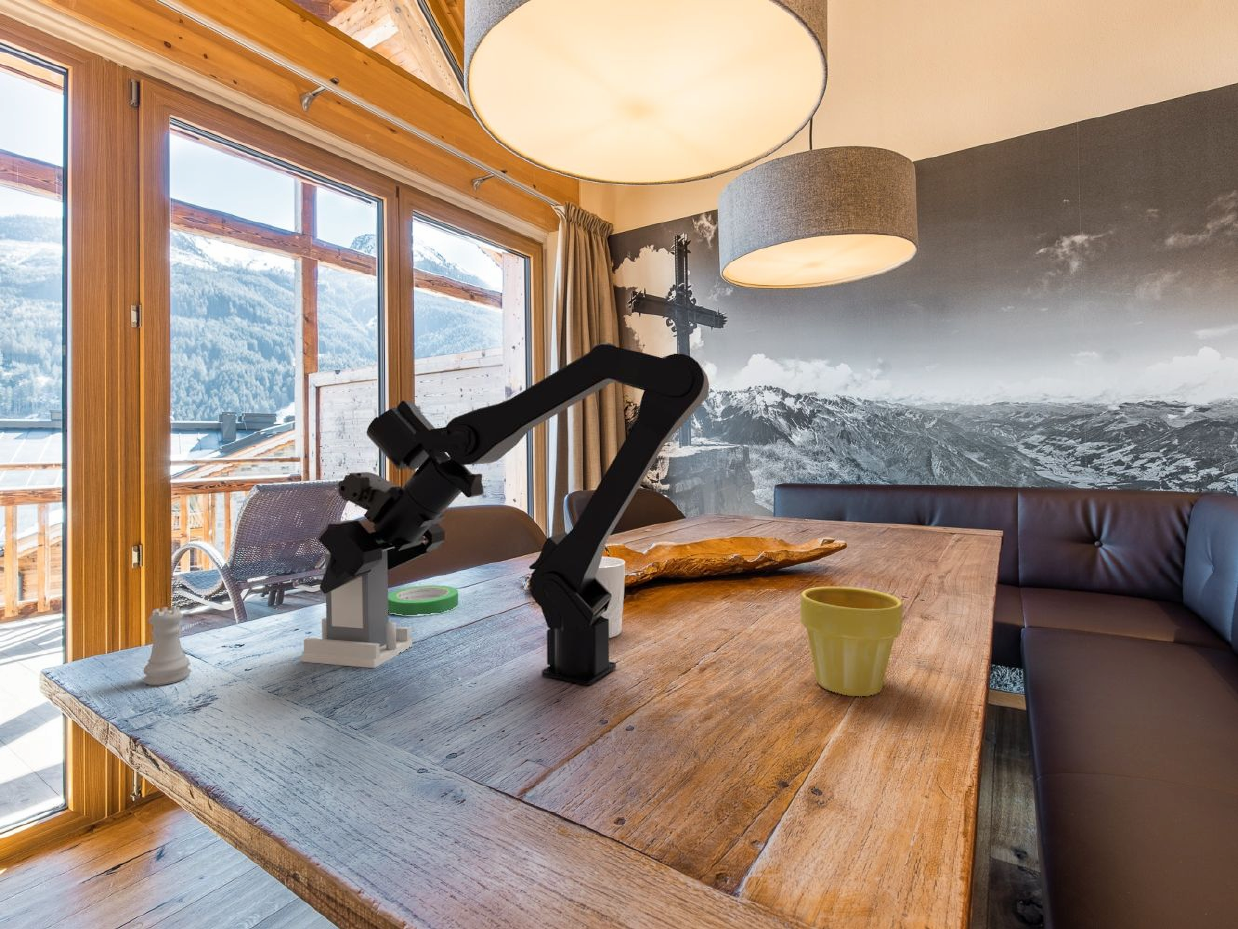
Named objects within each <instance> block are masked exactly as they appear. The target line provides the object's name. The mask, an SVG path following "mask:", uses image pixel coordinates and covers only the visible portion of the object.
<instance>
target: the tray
mask: <svg viewBox="0 0 1238 929" xmlns="http://www.w3.org/2000/svg"><path fill="white" fill-rule="evenodd" d="M411 646H413V638H411V627H408V626H405V627H404V626H397V622H395V621H388V623H386V644H385V645H383V646H382V647H380V644H379V643H366V642H353V641H340V640H328V639H327V628H326V617H323V618H321V638H313V637H311V638H310V637H307V638H304V639H303V652H302V654H301V660H302V661H301V662H303V663H313V664H324V665H325V664H327V665H335V666H348V667H356V668H357V667H358V668H368V669H369V668H371V669H376V668H377V667H379V666H381V665H383V664H384V663H387V662H388V661H389V660H391V659H393V658H394V657H396V656H398V655H400V654H401V653H403V652H405V651H407V650H408V649H410V648H412V647H411ZM409 647H410V648H409ZM406 649H407V650H406ZM400 652H401V653H400ZM399 653H400V654H399Z"/></svg>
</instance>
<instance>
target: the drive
mask: <svg viewBox="0 0 1238 929" xmlns="http://www.w3.org/2000/svg"><path fill="white" fill-rule="evenodd" d="M329 558H330V552H327V553H324V563H325V564H324V566H325V569H324V570H325V571H326V568H327V565H328V562H329ZM370 570H371V572H369V573H367V574H365V575H363V576H361V577H359V578H357V579H355V580H353V581H351V582H349V583H347V584H345V585H343V586H341V587H339V588H337V589H335V590H333V591H331V592H329V593H326V594H325V618H326V628H327V639H328V640H340V641H353V642H366V643H379V644H380V647H382V646H383V645H385V644H386V623H388V622H389V613H388V594H389V584H388V582H389V577H388V574H389V572H388V567H387V550H385V551H382V560H381V561H380V562H379V563H378V564H377V565H376V566H374V567H373V568H372V569H370Z"/></svg>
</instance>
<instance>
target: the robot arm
mask: <svg viewBox="0 0 1238 929" xmlns="http://www.w3.org/2000/svg"><path fill="white" fill-rule="evenodd" d="M709 382H710V381H709V378H708V375H707V373H706V372H705V370H704V368H703V367H702V366H701V365H700V363H699V362H698V361H697V360H696V359H694V357H692V356H690V355H687V354H684V353H673V354H669V355H666V356H663V357H659V356H657V355H652V354H649V353H645V352H641V351H636V350H633V349H632V350H630V349H628V348H627V349H626V348H623V347H618V346H617V345H615V344H613V343H610V342H601V343H599V344H597V345H595V346H594V347H593V348H591V349H590V350H589V352H587V353H585V354H584V355H581V356H580V357H578V358H577V359H575V360H573V361H572V362H570V363H568V364H567V365H565V366H564V367H561V368H560V369H559V370H556V371H555V372H553V373H550V375H548V376H546V377H545V378H543V379H541V380H540V381H538V382H536V383H535V384H533V385H531V386H530V387H528V388H526V389H525V390H522V391H521V392H520V393H518V394H516V395H514V396H512V397H511V398H509V399H507V400H504V401H501V402H499V403H495V404H492V405H488V406H482V407H480V408H477V409H474V410H472V411H469V412H466V413H463V414H461V415H460V414H459V415H458V416H456V417H453V418H452V419H451V420H450V421H449V422H448V423H447V424H446V425H445V426H444V427H443V426H442V427H436V428H435V427H434V425H433V424H431V422H430V420H428V419H427V417H425V415H424V414H422V412H421V411H420V409H419V406H417V405H416V404H415V403H414V402H413V401H409V400H401V401H400V402H399V403H398V405H397V406H394V407H391V408H390V409H388V410H386V411H384V412H383V413H381V414H380V415H379V416H376V417H374V418H373V419H372V421H370V424H369V425H368V427H367V430H366V436H367V437H368V438H369V440H371V442H372V443H373V444H374V445H375V446H376V447H377V448H378V449H379V450H380V451H381V453H382V454H383V456H386V459H388V460H389V461H390V462H391V463H392V465H393V466H394V467H395V468H396V469H398V470H404V469H409V470H410V471H414V470H416V471H414V473H413V474H412V475H411V476H410V477H409V478H408V479H407V481H406V482H404V484H403V485H402V486H400V485H399V486H397V484H395V483H393V482H391V481H389V480H387V479H385V478H384V477H382V476H379V475H378V474H376V473H373V472H368V471H365V472H364V471H363V472H351V473H349V474H346V475H345V476H344V478H343V480H340V481H339V482H338V484H337V486H338V489H337V492H338V495H339V497H340V498H341V499H342V500H343V501H346V502H351V503H352V504H354V505H356V506H358V507H360V508H362V509H364V510H366V512H365V513H364V514H363V517H365V519H366V520H367V521H368V522H369V523H373V524H374V525H372V526H373V530H374V531H372V532H369V531H368V530H367V529H366V528H365V527H364V525H363V524H362V523H361V522H360V521H359V520H357V519H355V520H353V519H351V520H350V519H347V520H341V521H336V522H331V523H327V525H326V526H325V527H324V528H323V530H321V532H320V533H319V534H318V537H317V538H318V541H319V542H320V543H321V545H323V547H324V548H325V549H326V550H327V551H328V553H330V558H329V562H328V565H327V568H326V571H325V572H324V574H323V576H322V580H321V582H320V584H319V589H320V591H321V592H322V593H323V594H324V595H326V593H329V592H331V591H333V590H335V589H337V588H339V587H341V586H343V585H345V584H347V583H349V582H351V581H353V580H355V579H357V578H359V577H361V576H363V575H365V574H367V573H369V572H371V570H370V569H372V568H373V567H374V566H376V565H377V564H378V563H379V562H380V561H381V560H382V551H385V550H387V567H388V571H391V570H394V569H396V568H398V567H400V566H402V565H404V564H406V563H408V562H409V563H410V562H412V561H413V560H416V559H417V558H420V557H422V556H424V555H427V554H429V553H430V552H431V551H434V550H437V549H438V548H439V547H440V546H441V545H442V543H444V541H445V539H446V538H445V533H446V532H445V529H444V527H442V526H441V525H440V524H439V523H441V522H442V521H443V520H444V519H445V518H446V516H445V515H444V514H443V513H444V512H445V511H446V510H447V509H448V508H449V506H450V505H451V504H452V503H453V502H454V500H456V499H457V498H458V497H459V495H461V493H463V495H464V496H465V497H466V498H474V497H479V496H483V495H484V486H483V474H482V473H472V472H471V471H470V469H468V468H467V466H468V465H483V464H492V463H495V462H497V461H499V460H500V459H501V458H502V457H504V456H505V455H506V454H507V453H509V452H510V451H511V450H512V449H513V448H515V447H516V446H517V445H518V444H519V443H520V442H521V440H522V439H523V438H524V437H525V436H526V434H527V433H529V432H530V431H532V429H534V428H535V427H537V426H539V425H540V424H542V423H544V422H546V421H548V420H549V419H551V418H553V417H554V416H556V415H558V414H559V413H561V412H563V411H565V410H567V409H568V408H570V407H572V406H574V405H575V404H577V403H579V402H581V401H582V400H584V399H586V398H587V397H589V396H591V395H592V394H594V393H597V392H598V391H600V390H601V389H603V388H605V387H606V386H608V385H610V384H612V383H618V384H622V385H626V386H628V387H632V388H635V389H637V390H641V391H643V393H642V395H641V399H640V403H639V407H638V411H637V415H636V419H635V422H634V425H633V426H632V427H631V429H630V431H629V433H628V435H627V437H626V438H625V440H624V441H623V443H622V445H621V447H620V448H619V450H618V452H617V453H616V455H615V457H614V459H613V460H612V462H611V464H610V465H609V467H608V469H607V470H606V472H605V474H604V476H602V479H601V481H600V482H599V483H598V486H596V489H595V490H594V492H593V494H592V495H591V497H590V500H588V502H587V504H586V506H585V507H584V509H583V511H582V512H581V514H580V516H579V517H578V520H577V521H576V522H575V525H574V526H573V528H572V529H571V530H570V531H569V532H566V531H565V530H563V531H560V532H558V533H556V534H554V535H552V536H551V535H550V536H549V537H547V538H546V540H545V542H544V543H543V546H542V549H541V551H540V553H539V556H538V557H537V558H536V559H535V561H534V562H533V563H532V564H531V565H529V566H528V569H529V570H533V571H532V573H531V574H530V578H529V581H528V582H529V583H528V587H529V589H530V594H531V596H532V598H533V600H534V602H535V603H536V604H537V605H538V606H539V607H540V609H541V612H542V614H543V618H544V620H545V623H546V626H547V630H546V664H547V665H548V666H547V667H545V668H543V669H542V670H541V676H543V677H548V678H549V677H550V678H553V679H558V680H561V681H567V682H572V683H575V684H581V685H584V686H588V685H592V684H593V683H595V682H596V681H598V680H599V679H601V678H602V677H604V676H605V675H607V674H608V673H609V672H612V671H613V670H614V669H616V667H617V663H616V662H614V661H610V638H609V619H607V618H603V617H602V616H601V615H602V614H603V612H605V611H606V610H607V609H608V606H609V603H610V600H611V598H612V595H611V593H610V592H609V591H608V590H607V589H606V588H605V587H604V586H603V585H602V584H601V583H600V582H599V581H598V580H597V579H596V578H595V575H596V573H597V570H598V568H599V565H600V562H601V558H602V557H603V553H604V549H605V546H606V543H607V540H608V539H609V538H610V535H611V534H612V532H613V531H614V529H615V527H616V525H617V524H618V523H619V521H620V519H621V518H622V516H623V514H624V512H625V511H626V509H627V508H628V506H629V504H630V503H631V501H632V499H633V497H634V496H635V495H636V494H637V491H638V489H639V488H640V486H641V484H642V483H643V482H644V479H645V478H646V476H647V475H648V473H649V471H650V470H651V468H652V466H653V464H654V463H655V461H656V459H657V458H658V456H659V455H660V453H661V451H662V449H663V447H664V446H665V444H666V443H667V442H668V440H670V439H671V437H672V436H674V434H676V432H677V431H679V429H680V428H682V426H683V425H684V424H685V423H686V422H687V421H688V420H689V419H690V417H691V416H693V414H694V413H695V412H696V411H697V410H698V408H699V407H700V406H701V405H702V403H704V401H705V400H706V399H707V396H708V393H709V391H710V383H709ZM426 541H427V542H426ZM425 542H426V543H425Z"/></svg>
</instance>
